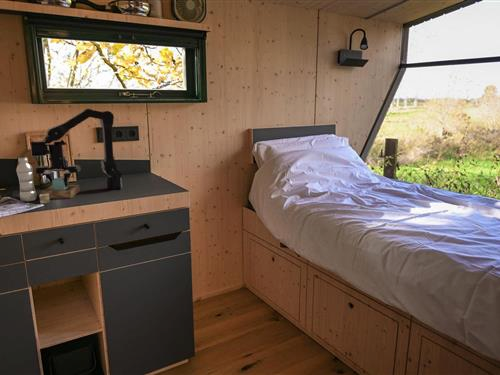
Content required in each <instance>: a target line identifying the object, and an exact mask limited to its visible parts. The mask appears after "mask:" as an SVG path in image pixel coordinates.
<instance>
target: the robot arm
mask: <svg viewBox="0 0 500 375" xmlns="http://www.w3.org/2000/svg"><path fill="white" fill-rule="evenodd" d="M89 118H94V119H98V120H99V123H100V125H101V129H102V137H103V138H102V139H103V141H102V142H103V152H104V153H103V154H104V156H103V160H100V163H101V167H100V168H101V169H102V171H103V173H105V174H106V175H107V179H106V185H107V186H106V187H107V190H108V191H112V190H113V191H116V190H117V191H119V190H122V189H123V182H122V181H123V180H122V176H123V173H122V172H120V170H118V168H117V163H116V160H115V158H114V145H113V131H112V130H113V126H114V120H115V116H114V113H112V112H111V111H109V110H102V111H100V110H94V109H91V108H84V109H83V111H81V112H79V113H77V114H76V115H74V116H72V117H71V118H69V119H68V120H66V121H65V122H63V123H60V124H58V125H55V126H53V127H50V128H48V129H47V130H46V136H44V139H42V141H30V143H29V144H30V155H31V157H44V156H46V155H47V154H48V153H49V157H48V159H49V161H50V167H49V166H48V165H39V166H37V167H36V168H35V169H34V172H35V174H36V175H40V174H42V175H43V176H45V177H46V178H47V179H48V180H49V182H50V184H51V186H53V184H52V180H53V179H55V172H65V173H63V178H64V180H65V186H66V187H67V185H69V181H70V178H71V175H73V174H74V173H75V174H77V173H78V172H81V170H82V168H81V166H80V164H74V165H69V159H66V158H65V156H64V149H63V146H67V142H65V141H64V140H63V139H61V138H63V137H64V136H65V135H66V134H67V133H68V132H69V131H70V130H71V129H73V128H74V127H76V126H78V125H79V124H81V123H83V122H84V121H86V120H87V119H89Z"/></svg>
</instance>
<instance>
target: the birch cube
mask: <svg viewBox="0 0 500 375" xmlns="http://www.w3.org/2000/svg"><path fill="white" fill-rule="evenodd" d="M39 202H40V204H41V203H42V204H49V203H50V202H51V200H50V199H49V194H41V193H40V194H39Z"/></svg>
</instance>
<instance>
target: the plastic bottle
mask: <svg viewBox="0 0 500 375" xmlns="http://www.w3.org/2000/svg"><path fill="white" fill-rule="evenodd" d="M17 158H18V160H17V161H18V165H17V167H16V174H17V177H18V181H19V182H18V183H19V198H20V201H21V202H29V203H30V202H32V201H35V200H36V199H37V191H36V189H35V184H34V168H33V166H32V165H31V164H30V163H29V158H28V157H27V156H23V157H17Z"/></svg>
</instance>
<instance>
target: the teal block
mask: <svg viewBox="0 0 500 375" xmlns="http://www.w3.org/2000/svg"><path fill="white" fill-rule="evenodd" d="M52 184H53V185H52ZM52 184H51V185H52V186H53V190H65V189H67V188H68V185H69V184H68V185H67V187H66V186H65V180H64V177H56V178H55V177H54V179H53V180H52Z"/></svg>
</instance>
